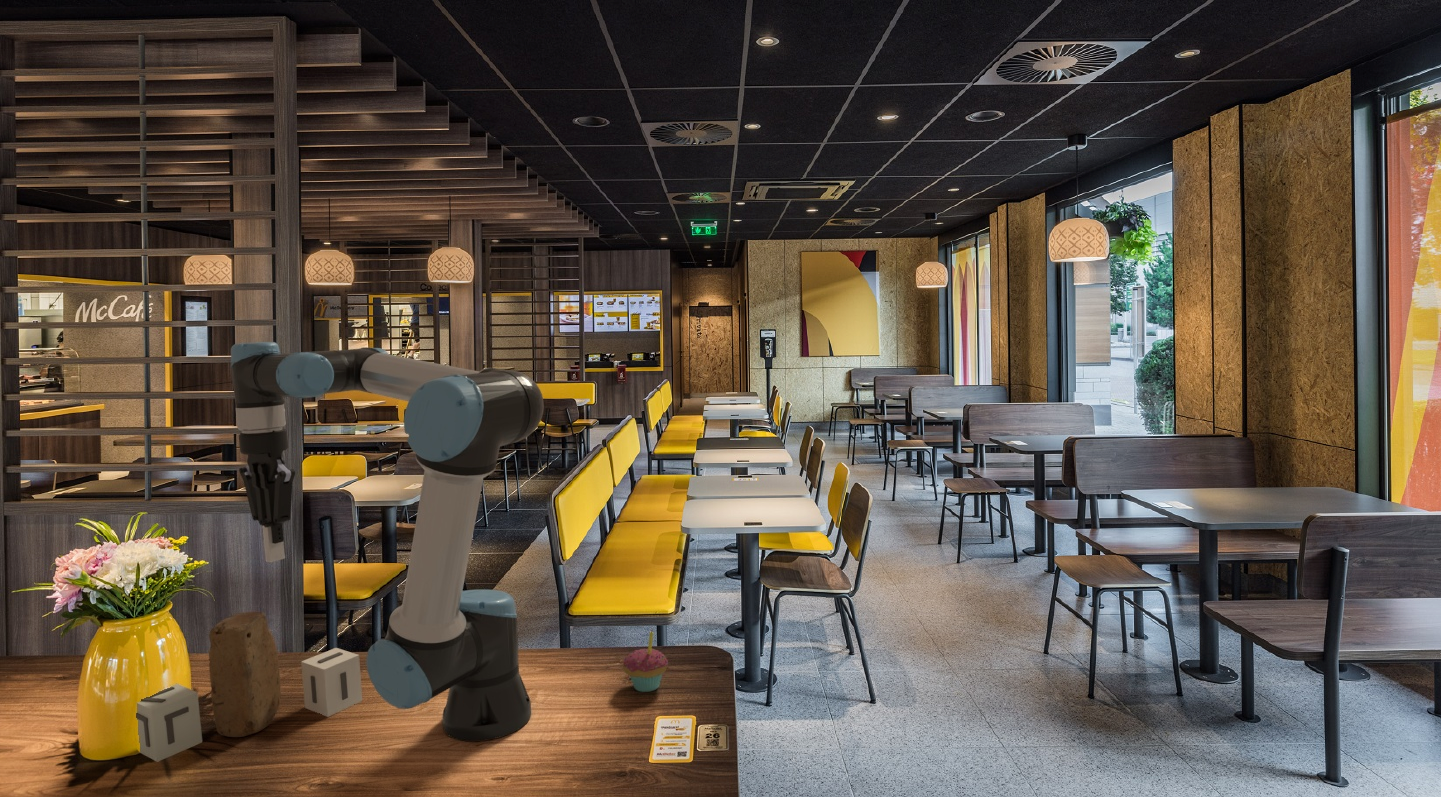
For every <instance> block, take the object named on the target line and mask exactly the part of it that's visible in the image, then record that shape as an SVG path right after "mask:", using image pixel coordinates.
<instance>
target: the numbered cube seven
mask: <svg viewBox="0 0 1441 797" xmlns="http://www.w3.org/2000/svg"><path fill="white" fill-rule="evenodd" d="M174 684H175V685H173V684H172V685H173V686H171V685H170V686H171V687H170V688H167V689H164V690H162V691H159V692H158V693H156V694H154V695H152V696H150V697H146V698H144V699H141V701H140V702H137V713H136V718H137V720H138V735H139V743H140V752H139V754H142V755H143V756H146V757H147V758H149V759H152V761H155V762H157V763H158V762H160V761H163V760H165V759H167V758H170V757H172V756H174V755H177V754H178V753H181V752H183V751H186V750H188V749H190V748H194V747H195V746H197V745H200V744H201V743H203V735H202V725H201V715H200V706H199V705H200V704H199V696H198V693H199V692H198V691H195V690H193V689H192V688H191V689H190V688H188V687H186V686H184V685H181V684H179V683H174Z"/></svg>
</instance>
